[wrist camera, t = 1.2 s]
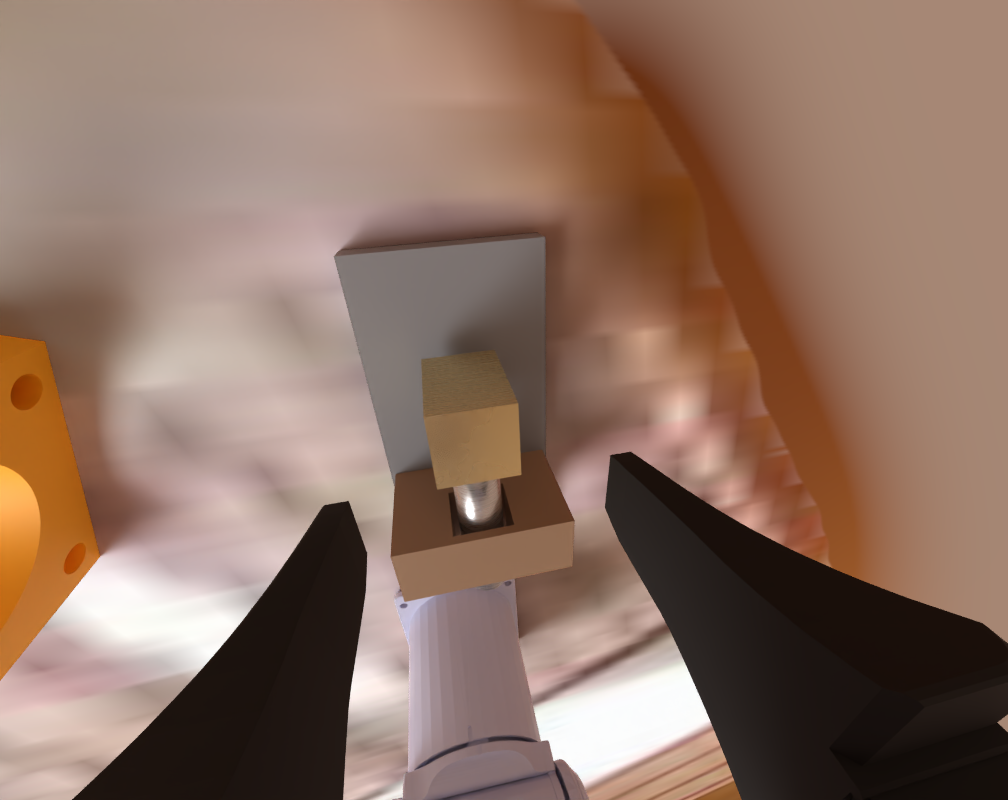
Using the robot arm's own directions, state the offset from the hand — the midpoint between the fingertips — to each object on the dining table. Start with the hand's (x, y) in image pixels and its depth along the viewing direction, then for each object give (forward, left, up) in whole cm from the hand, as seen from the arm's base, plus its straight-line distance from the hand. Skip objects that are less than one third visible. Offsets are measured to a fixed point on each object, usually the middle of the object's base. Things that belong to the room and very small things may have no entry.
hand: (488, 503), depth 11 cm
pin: (-4, 0, -7) cm, 8 cm away
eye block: (-2, 0, -9) cm, 9 cm away
